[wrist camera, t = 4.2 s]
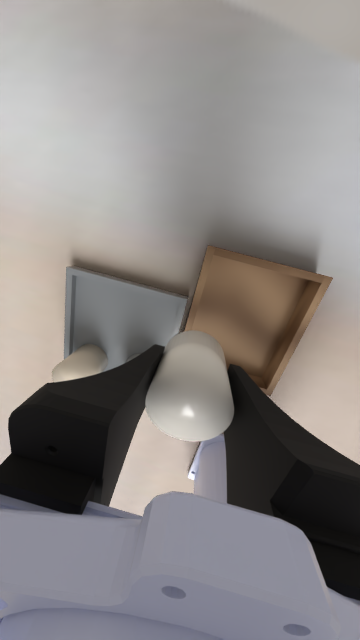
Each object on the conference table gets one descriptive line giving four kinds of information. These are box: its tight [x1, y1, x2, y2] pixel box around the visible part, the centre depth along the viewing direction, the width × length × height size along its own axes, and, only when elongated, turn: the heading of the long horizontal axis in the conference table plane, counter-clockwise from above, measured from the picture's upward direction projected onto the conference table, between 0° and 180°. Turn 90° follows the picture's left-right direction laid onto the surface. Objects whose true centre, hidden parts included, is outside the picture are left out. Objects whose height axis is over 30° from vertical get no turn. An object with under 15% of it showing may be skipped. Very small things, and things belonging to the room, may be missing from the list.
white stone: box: [145, 330, 234, 442], centre depth 11 cm, size 4×4×4 cm
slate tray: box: [64, 266, 188, 372], centre depth 21 cm, size 13×12×1 cm
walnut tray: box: [184, 245, 333, 396], centre depth 18 cm, size 12×10×2 cm
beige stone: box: [52, 344, 108, 382], centre depth 21 cm, size 4×4×4 cm
